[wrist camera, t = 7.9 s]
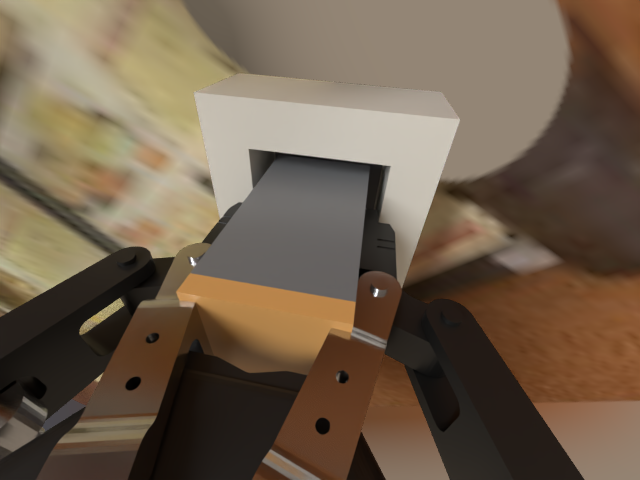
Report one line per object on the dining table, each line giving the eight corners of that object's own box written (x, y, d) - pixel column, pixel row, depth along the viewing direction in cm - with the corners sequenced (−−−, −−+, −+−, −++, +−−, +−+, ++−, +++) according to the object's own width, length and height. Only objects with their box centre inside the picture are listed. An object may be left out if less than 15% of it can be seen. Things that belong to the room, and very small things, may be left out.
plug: (278, 154, 13) (176, 292, 6) (370, 165, 12) (353, 324, 6) (282, 227, 15) (210, 376, 9) (357, 239, 15) (336, 403, 9)
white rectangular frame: (238, 73, 13) (-123, 227, 4) (441, 92, 12) (622, 360, 3) (265, 313, 24) (192, 499, 15) (371, 333, 23) (361, 544, 14)
